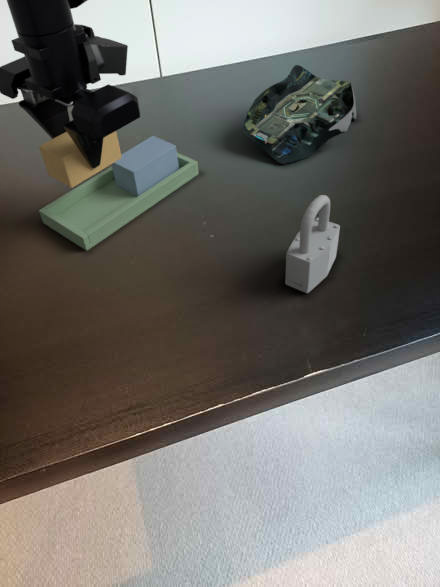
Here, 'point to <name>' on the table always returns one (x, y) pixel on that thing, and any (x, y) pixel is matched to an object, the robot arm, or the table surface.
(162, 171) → the blue block
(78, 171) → the tan block
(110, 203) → the tray
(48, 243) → the table surface
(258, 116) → the model
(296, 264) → the padlock
